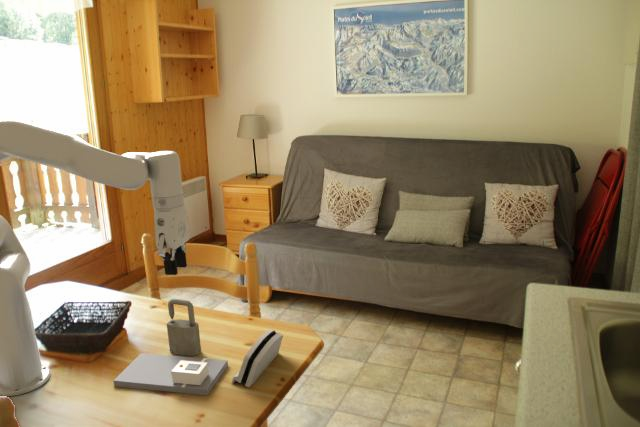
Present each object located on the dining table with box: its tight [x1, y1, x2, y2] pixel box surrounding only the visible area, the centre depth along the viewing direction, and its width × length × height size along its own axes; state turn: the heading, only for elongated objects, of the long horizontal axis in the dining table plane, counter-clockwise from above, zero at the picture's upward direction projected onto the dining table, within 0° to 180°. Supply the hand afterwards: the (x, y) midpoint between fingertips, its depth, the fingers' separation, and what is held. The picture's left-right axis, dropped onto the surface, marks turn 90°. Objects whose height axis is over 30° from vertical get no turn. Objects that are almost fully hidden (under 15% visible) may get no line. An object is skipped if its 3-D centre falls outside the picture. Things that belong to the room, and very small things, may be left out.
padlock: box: [166, 298, 202, 357], centre depth 146 cm, size 4×8×15 cm, turn 71°
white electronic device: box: [171, 360, 209, 385], centre depth 131 cm, size 7×5×3 cm
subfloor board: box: [113, 352, 229, 396], centre depth 136 cm, size 24×13×2 cm, turn 78°
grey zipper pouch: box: [231, 328, 284, 388], centre depth 137 cm, size 17×5×10 cm, turn 159°
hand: (176, 269), depth 141 cm, fingers open, 4 cm apart
